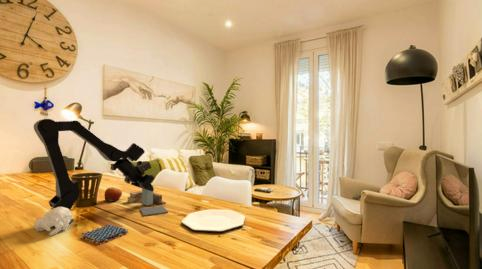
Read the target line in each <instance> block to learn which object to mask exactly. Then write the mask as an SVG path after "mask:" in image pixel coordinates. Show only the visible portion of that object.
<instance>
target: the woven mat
mask: <svg viewBox="0 0 482 269" xmlns="http://www.w3.org/2000/svg"><path fill="white" fill-rule="evenodd" d="M127 234H129V231H128V228H125V227H124V228H123V227H120V226H116V225H112V224H109V225H108V224H106V225H105V226H101V227H98V228H96V229H91V231H89V230H88V231H87V232H82V233H81V237H80V239H84V240H85V241H89V242H90V243H95V244H96V245H98V244H99V245H103V244H105V243H108V242H110V241H113V240H115V239H118V238H120V237H123V236H125V235H127Z"/></svg>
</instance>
